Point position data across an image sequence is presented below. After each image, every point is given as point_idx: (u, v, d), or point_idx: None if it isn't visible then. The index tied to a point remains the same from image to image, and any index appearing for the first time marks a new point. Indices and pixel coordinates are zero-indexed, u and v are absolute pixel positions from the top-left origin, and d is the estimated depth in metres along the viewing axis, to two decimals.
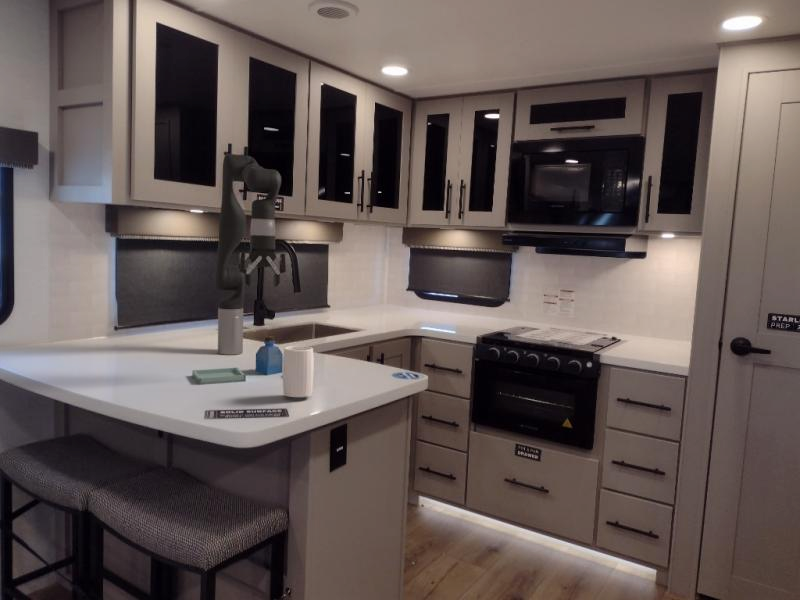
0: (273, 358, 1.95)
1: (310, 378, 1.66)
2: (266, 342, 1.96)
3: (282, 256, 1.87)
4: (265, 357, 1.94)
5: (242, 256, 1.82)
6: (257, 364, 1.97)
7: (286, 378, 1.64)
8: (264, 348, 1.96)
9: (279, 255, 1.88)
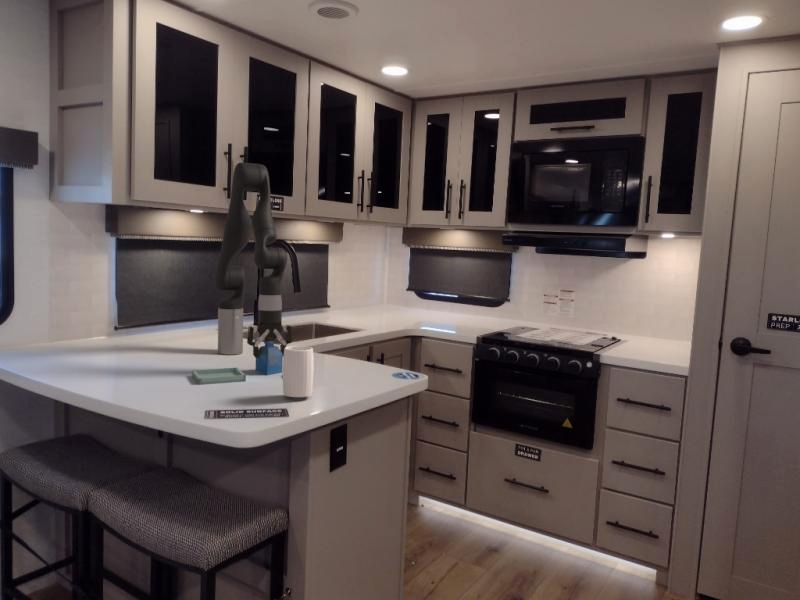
0: (272, 358, 1.95)
1: (310, 378, 1.66)
2: (266, 342, 1.96)
3: (288, 328, 1.99)
4: (265, 357, 1.94)
5: (251, 330, 1.93)
6: (257, 364, 1.97)
7: (286, 378, 1.64)
8: (264, 348, 1.96)
9: (285, 327, 1.99)
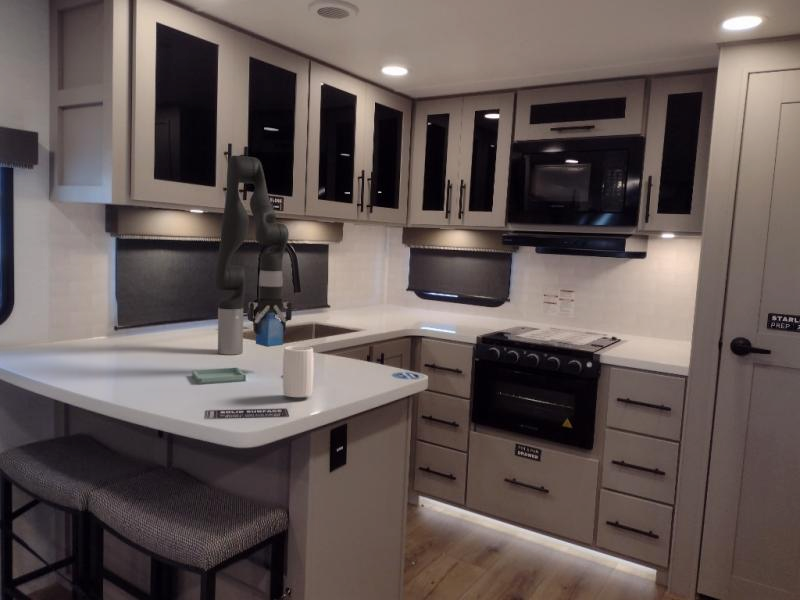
0: (273, 329, 1.95)
1: (310, 378, 1.66)
2: None
3: (288, 305, 1.98)
4: (265, 329, 1.94)
5: (251, 306, 1.92)
6: (257, 336, 1.97)
7: (286, 378, 1.64)
8: (264, 320, 1.95)
9: (286, 304, 1.98)
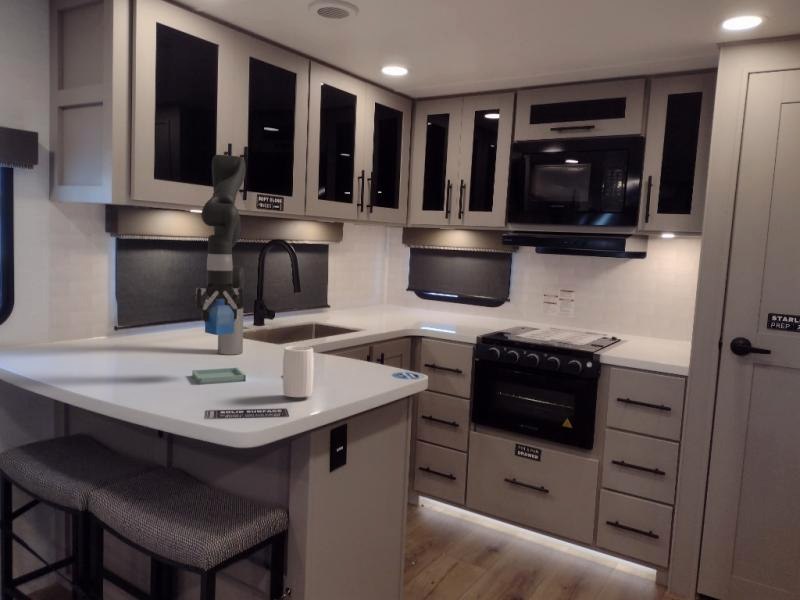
0: (222, 316, 1.83)
1: (310, 378, 1.66)
2: (216, 300, 1.83)
3: (240, 291, 1.86)
4: (214, 316, 1.82)
5: (198, 292, 1.81)
6: (206, 324, 1.85)
7: (286, 378, 1.64)
8: (213, 306, 1.83)
9: (237, 289, 1.87)
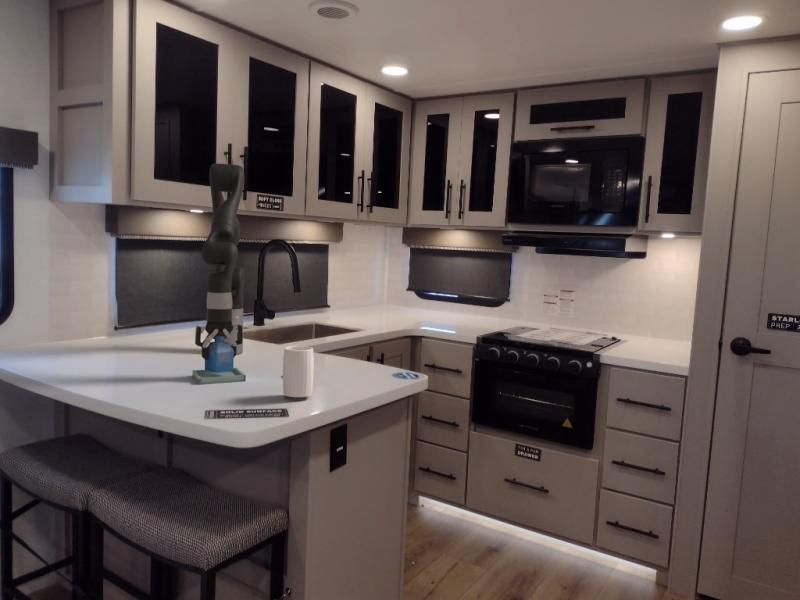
0: (222, 354, 1.84)
1: (310, 378, 1.66)
2: (215, 338, 1.84)
3: (239, 328, 1.87)
4: (214, 354, 1.83)
5: (198, 330, 1.82)
6: (206, 361, 1.86)
7: (286, 378, 1.64)
8: (213, 344, 1.84)
9: (236, 327, 1.88)
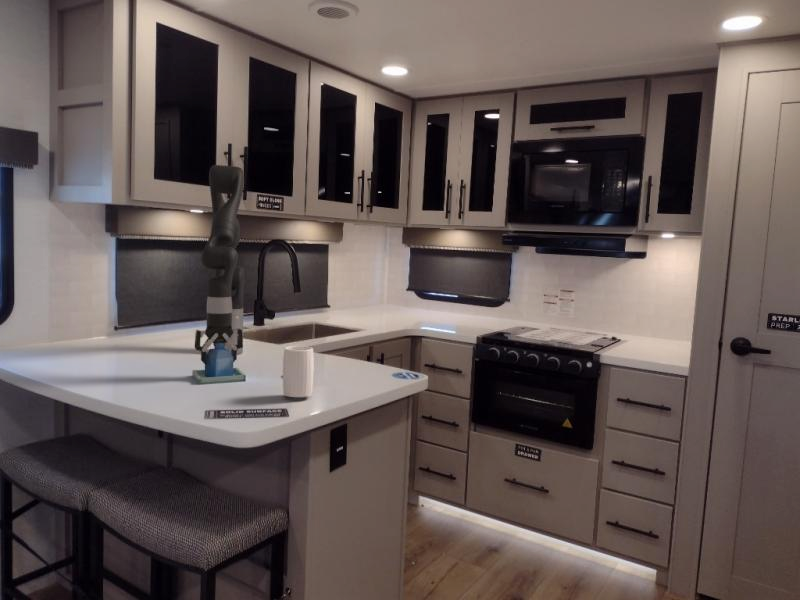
0: (222, 361, 1.84)
1: (310, 378, 1.66)
2: (215, 344, 1.85)
3: (239, 332, 1.87)
4: (213, 361, 1.83)
5: (198, 334, 1.82)
6: (206, 368, 1.86)
7: (286, 378, 1.64)
8: (213, 351, 1.85)
9: (236, 331, 1.88)
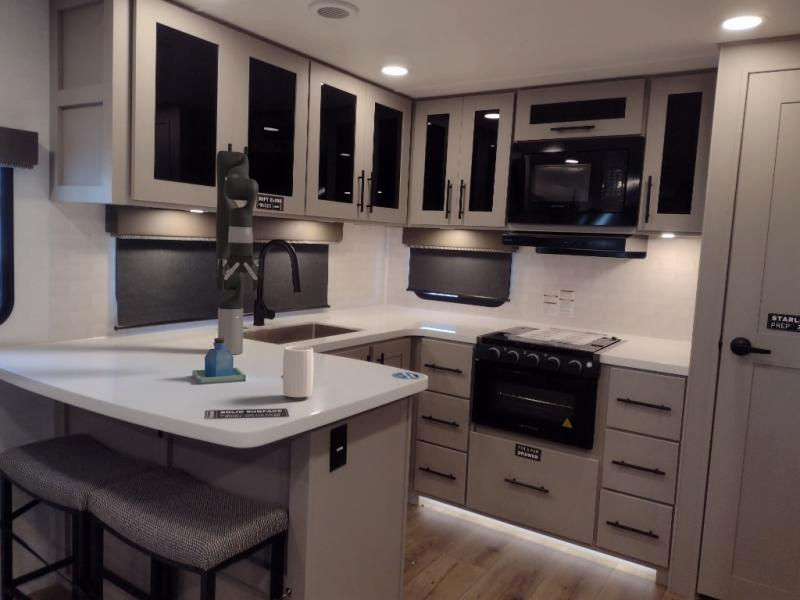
0: (222, 361, 1.84)
1: (310, 378, 1.66)
2: (215, 344, 1.85)
3: (259, 262, 1.94)
4: (213, 361, 1.83)
5: (220, 262, 1.88)
6: (206, 368, 1.86)
7: (286, 378, 1.64)
8: (213, 351, 1.85)
9: (256, 261, 1.94)
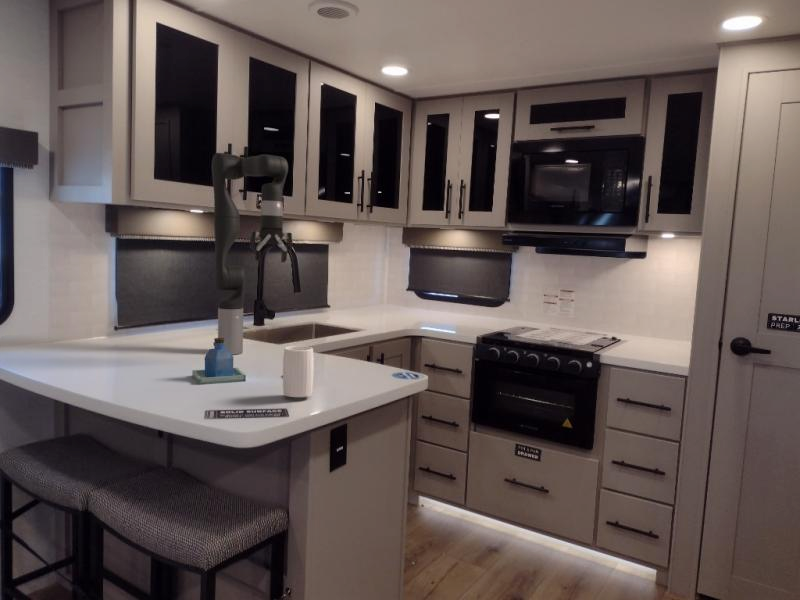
0: (222, 361, 1.84)
1: (310, 378, 1.66)
2: (215, 344, 1.85)
3: (289, 235, 2.07)
4: (213, 361, 1.83)
5: (253, 234, 2.01)
6: (206, 368, 1.86)
7: (286, 378, 1.64)
8: (213, 351, 1.85)
9: (286, 234, 2.07)
